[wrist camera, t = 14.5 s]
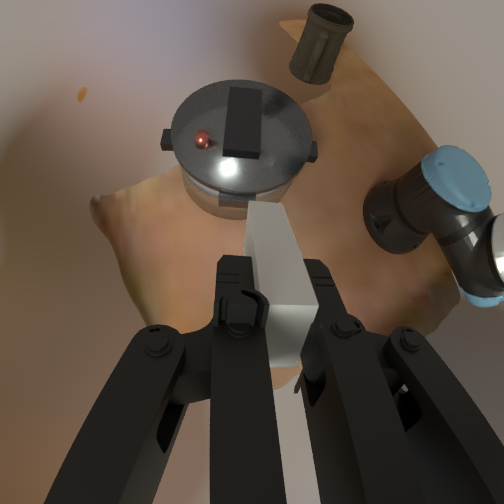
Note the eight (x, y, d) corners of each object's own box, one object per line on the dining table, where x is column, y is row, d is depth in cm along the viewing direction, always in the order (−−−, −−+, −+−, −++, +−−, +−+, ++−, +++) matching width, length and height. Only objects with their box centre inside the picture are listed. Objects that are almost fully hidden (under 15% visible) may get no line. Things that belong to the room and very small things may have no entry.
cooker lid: (305, 93, 45) (310, 80, 42) (312, 202, 40) (320, 192, 37) (183, 82, 43) (182, 68, 39) (161, 190, 38) (156, 179, 35)
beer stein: (291, 52, 63) (309, -4, 43) (330, 63, 64) (355, 11, 44) (284, 91, 60) (304, 30, 41) (327, 103, 61) (359, 47, 42)
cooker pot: (299, 134, 57) (316, 97, 45) (302, 232, 52) (325, 209, 40) (177, 124, 54) (172, 84, 42) (161, 223, 49) (146, 196, 38)
